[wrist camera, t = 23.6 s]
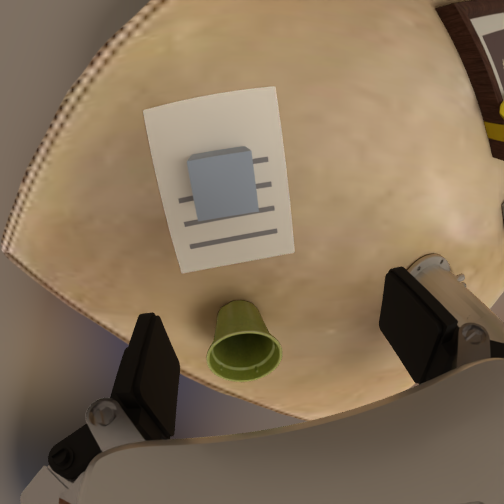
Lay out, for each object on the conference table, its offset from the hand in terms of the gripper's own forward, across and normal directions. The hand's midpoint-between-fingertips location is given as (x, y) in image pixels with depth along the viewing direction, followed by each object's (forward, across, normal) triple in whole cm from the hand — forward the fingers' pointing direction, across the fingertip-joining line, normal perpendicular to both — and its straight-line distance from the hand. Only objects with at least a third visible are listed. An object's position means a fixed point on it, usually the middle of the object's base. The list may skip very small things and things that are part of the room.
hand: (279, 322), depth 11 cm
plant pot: (+24, +3, +18) cm, 31 cm away
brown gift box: (+26, -52, -20) cm, 62 cm away
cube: (+24, +2, -2) cm, 24 cm away
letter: (+24, +2, -1) cm, 24 cm away
